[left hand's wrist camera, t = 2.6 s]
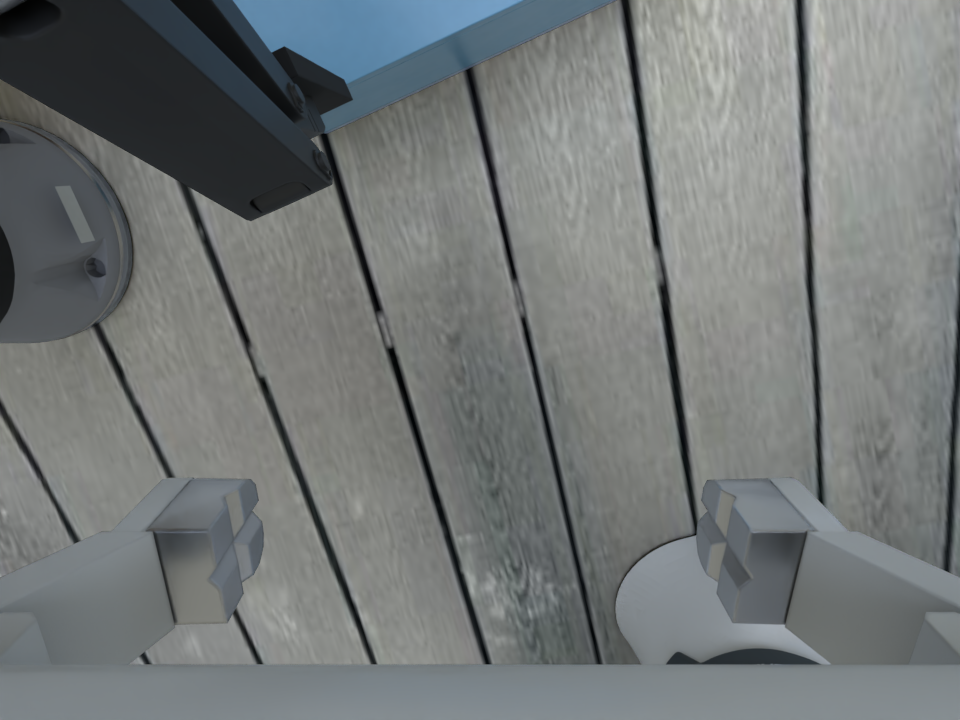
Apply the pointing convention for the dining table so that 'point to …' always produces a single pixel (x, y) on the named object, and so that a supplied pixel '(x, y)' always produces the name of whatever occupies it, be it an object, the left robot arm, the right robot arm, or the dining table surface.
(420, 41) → the blue open box
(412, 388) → the dining table surface
